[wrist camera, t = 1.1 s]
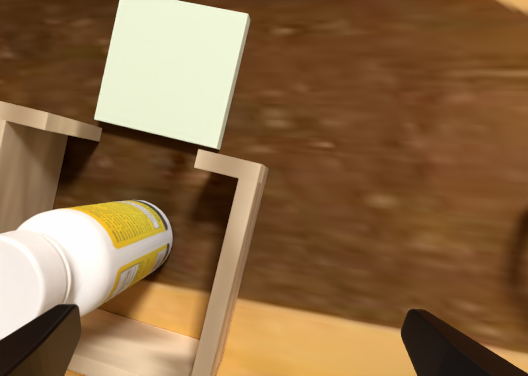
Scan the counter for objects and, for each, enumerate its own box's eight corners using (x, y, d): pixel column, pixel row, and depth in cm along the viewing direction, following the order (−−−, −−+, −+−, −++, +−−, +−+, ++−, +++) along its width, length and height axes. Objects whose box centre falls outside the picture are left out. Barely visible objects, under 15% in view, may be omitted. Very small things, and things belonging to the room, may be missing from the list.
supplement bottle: (102, 200, 20) (-73, 217, 11) (173, 198, 20) (57, 213, 10) (105, 274, 20) (-64, 357, 11) (176, 273, 20) (65, 361, 10)
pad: (250, 21, 19) (248, 13, 18) (219, 149, 19) (216, 148, 19) (128, -3, 20) (121, -11, 19) (102, 121, 20) (94, 119, 19)
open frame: (268, 168, 19) (261, 164, 15) (221, 361, 20) (200, 413, 15) (59, 117, 21) (-6, 99, 16) (21, 298, 21) (-52, 329, 17)
